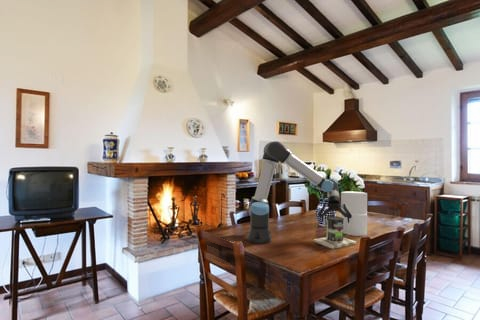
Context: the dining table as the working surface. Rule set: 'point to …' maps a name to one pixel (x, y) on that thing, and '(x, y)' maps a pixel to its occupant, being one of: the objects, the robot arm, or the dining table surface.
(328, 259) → the dining table surface
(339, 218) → the coffee can
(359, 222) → the cylinder
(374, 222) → the dining table surface
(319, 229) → the dining table surface
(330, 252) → the dining table surface
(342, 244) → the birch board
